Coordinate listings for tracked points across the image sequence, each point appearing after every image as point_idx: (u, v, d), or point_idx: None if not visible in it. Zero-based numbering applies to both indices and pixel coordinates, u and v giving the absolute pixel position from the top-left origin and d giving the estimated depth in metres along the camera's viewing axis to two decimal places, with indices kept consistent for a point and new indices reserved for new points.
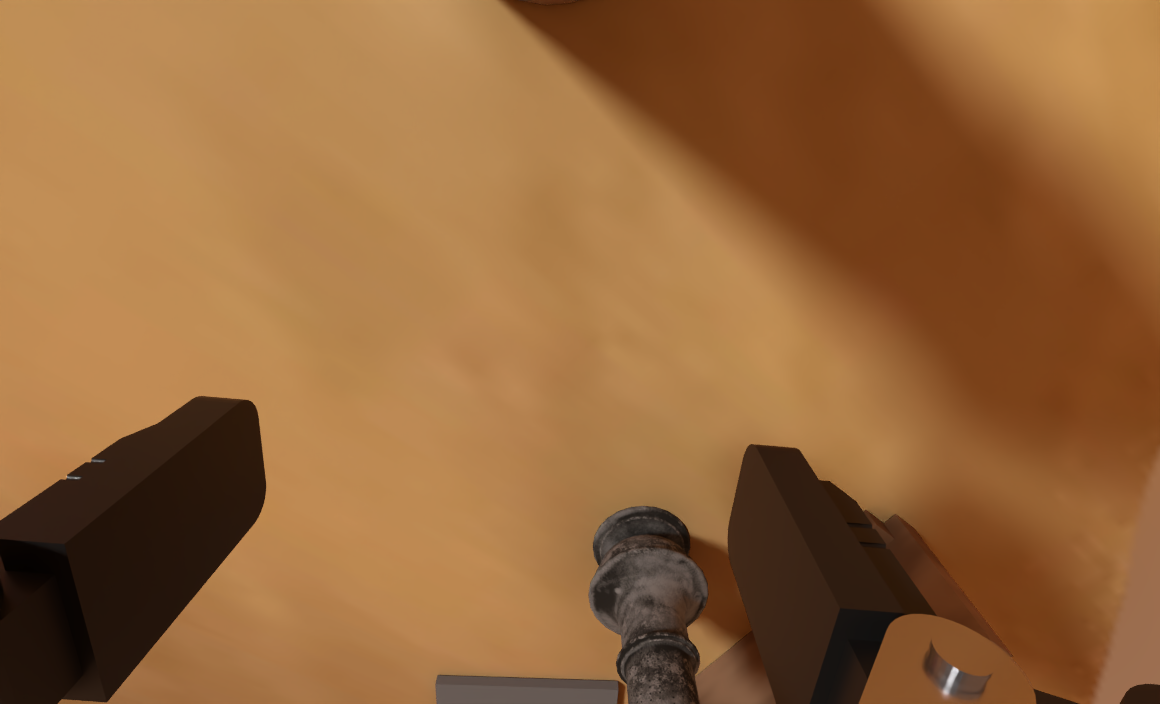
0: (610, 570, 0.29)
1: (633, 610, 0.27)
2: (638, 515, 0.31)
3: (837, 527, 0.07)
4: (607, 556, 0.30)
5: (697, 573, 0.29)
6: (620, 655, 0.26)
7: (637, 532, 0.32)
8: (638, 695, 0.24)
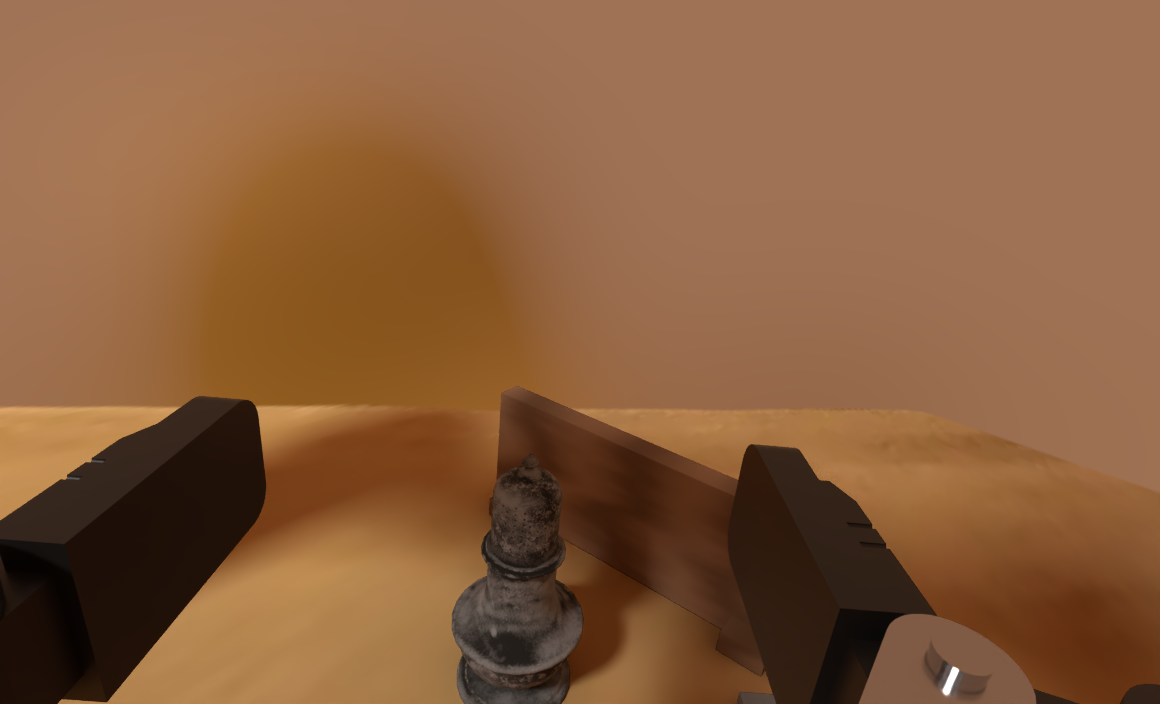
0: (474, 647, 0.25)
1: (493, 596, 0.25)
2: (464, 671, 0.28)
3: (837, 527, 0.07)
4: (475, 667, 0.25)
5: None
6: (508, 573, 0.24)
7: None
8: (503, 520, 0.24)
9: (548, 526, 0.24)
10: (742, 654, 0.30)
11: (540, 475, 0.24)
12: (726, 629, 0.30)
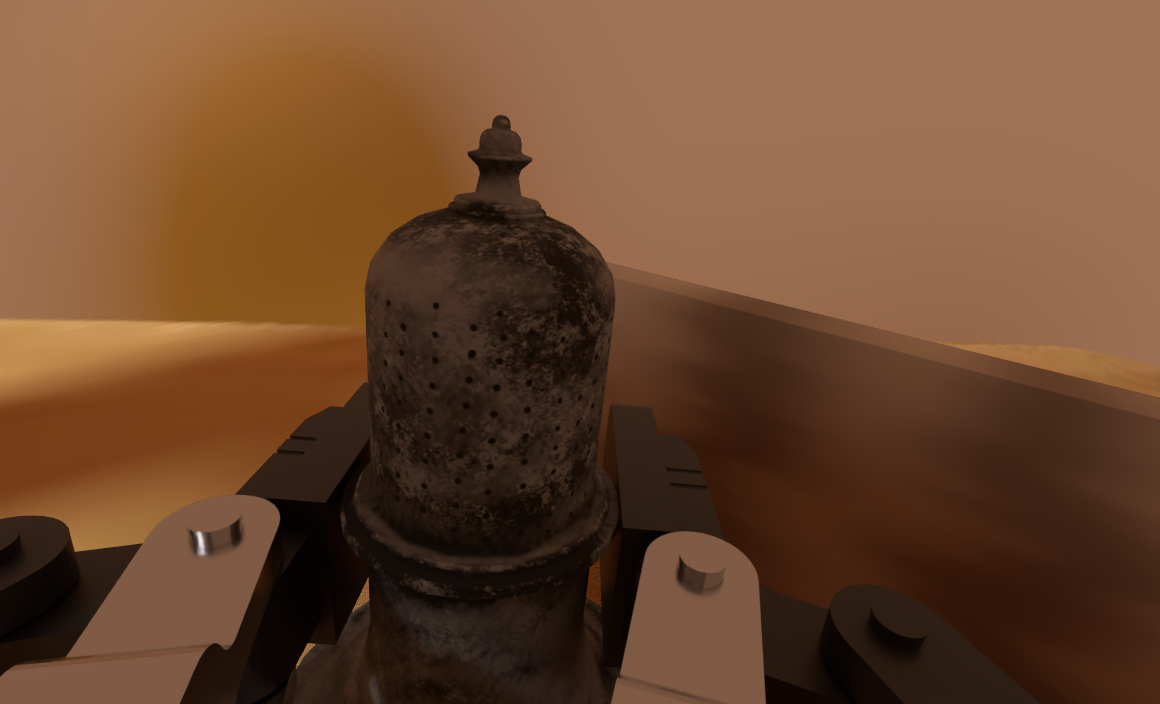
0: None
1: (382, 655, 0.08)
2: None
3: (654, 468, 0.08)
4: None
5: None
6: (415, 577, 0.06)
7: None
8: (393, 366, 0.06)
9: (567, 393, 0.06)
10: None
11: (539, 211, 0.06)
12: None
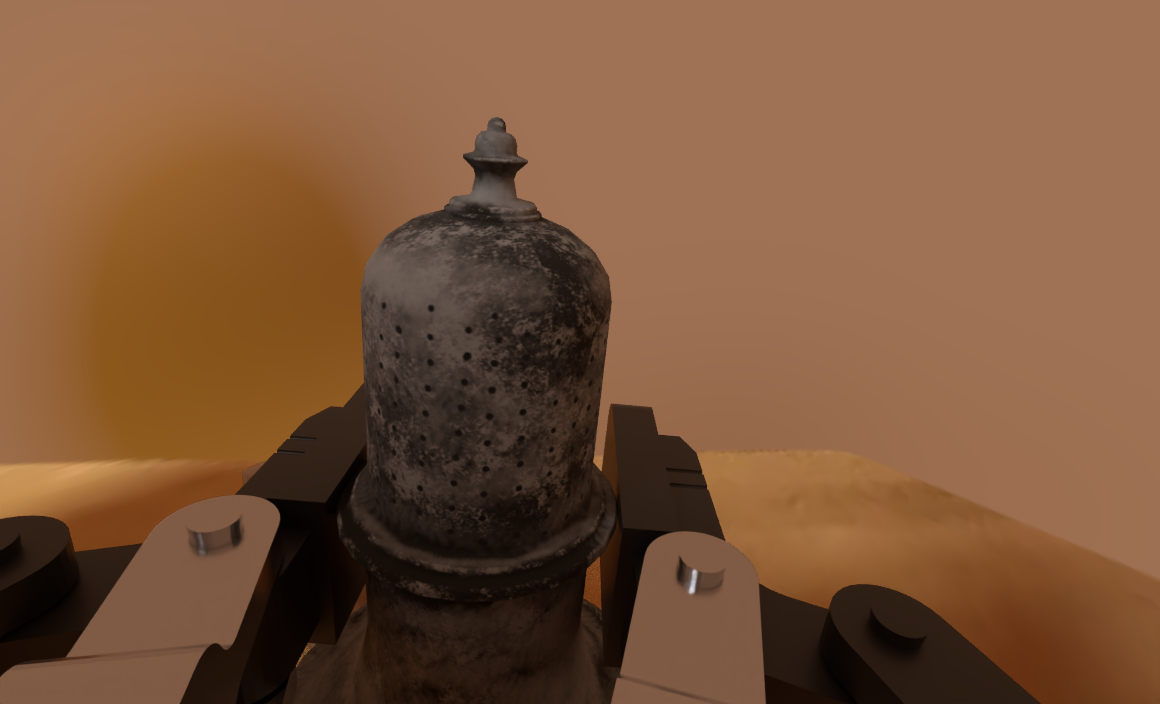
0: None
1: (379, 657, 0.08)
2: None
3: (654, 468, 0.08)
4: None
5: None
6: (411, 579, 0.06)
7: None
8: (388, 368, 0.06)
9: (563, 394, 0.06)
10: None
11: (534, 212, 0.06)
12: None
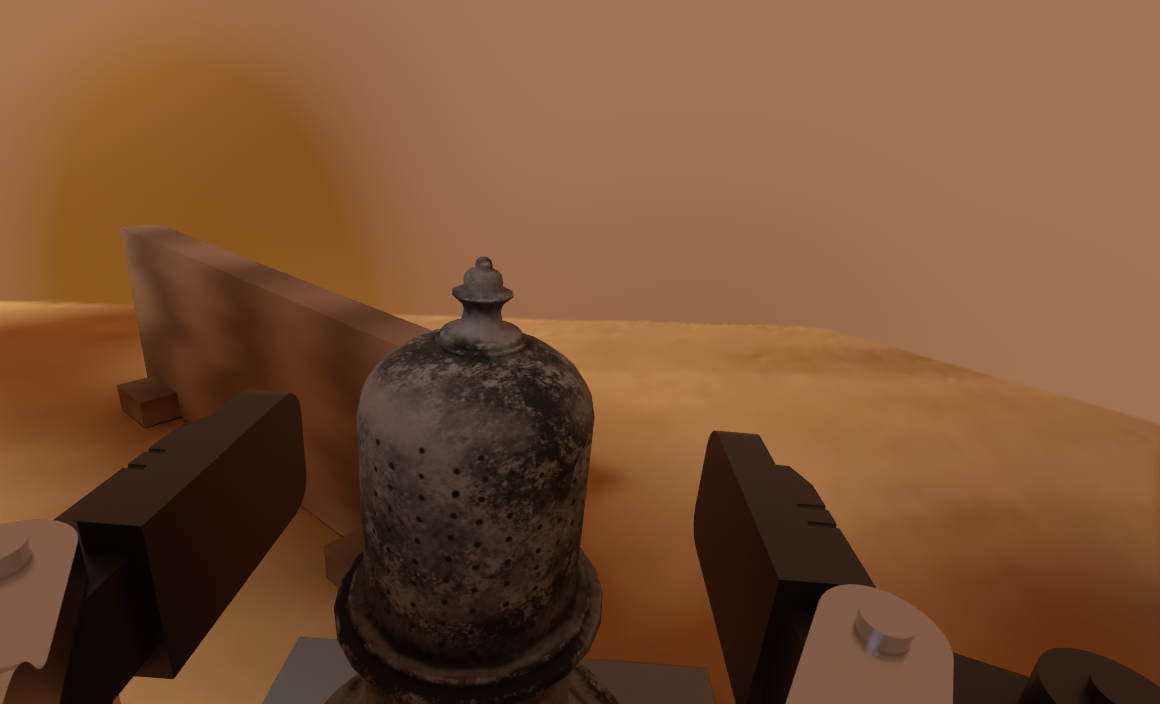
0: None
1: None
2: None
3: (787, 506, 0.08)
4: None
5: None
6: (405, 690, 0.07)
7: None
8: (383, 497, 0.06)
9: (547, 519, 0.07)
10: None
11: (520, 342, 0.07)
12: (338, 543, 0.19)
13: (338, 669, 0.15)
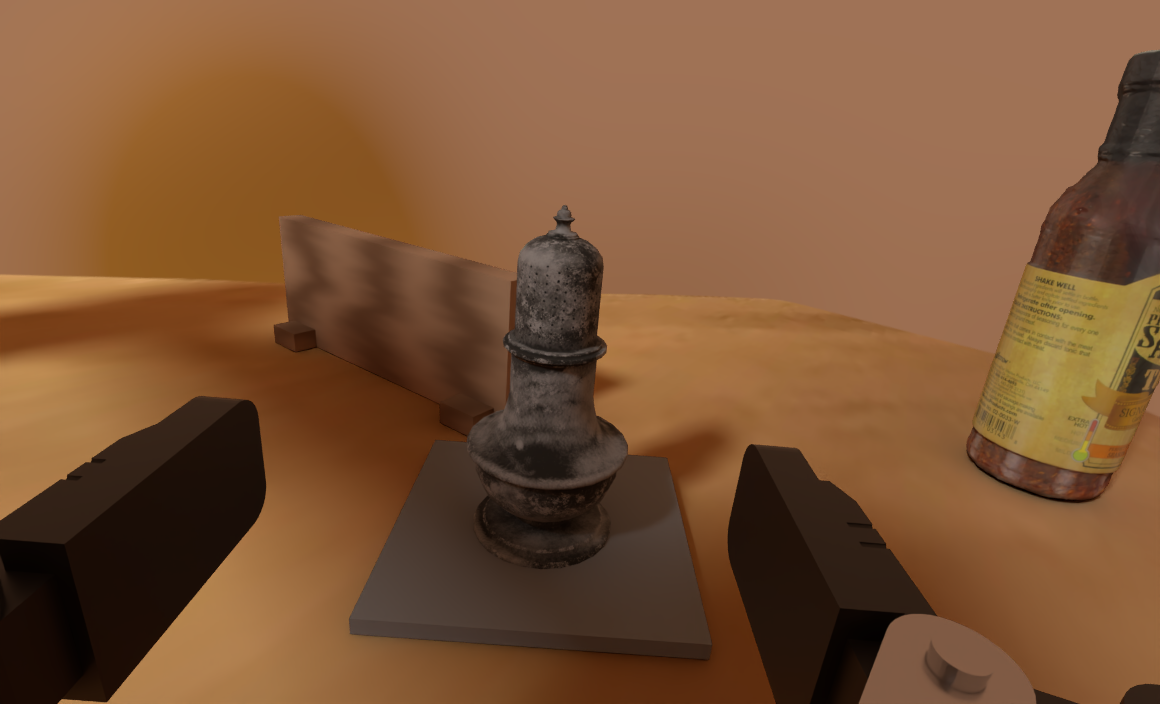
0: (495, 463, 0.20)
1: (518, 401, 0.20)
2: (482, 515, 0.23)
3: (837, 527, 0.07)
4: (496, 490, 0.20)
5: None
6: (538, 357, 0.19)
7: (507, 513, 0.23)
8: (531, 287, 0.19)
9: (587, 296, 0.19)
10: (457, 419, 0.30)
11: (577, 236, 0.19)
12: (447, 400, 0.31)
13: (460, 451, 0.27)
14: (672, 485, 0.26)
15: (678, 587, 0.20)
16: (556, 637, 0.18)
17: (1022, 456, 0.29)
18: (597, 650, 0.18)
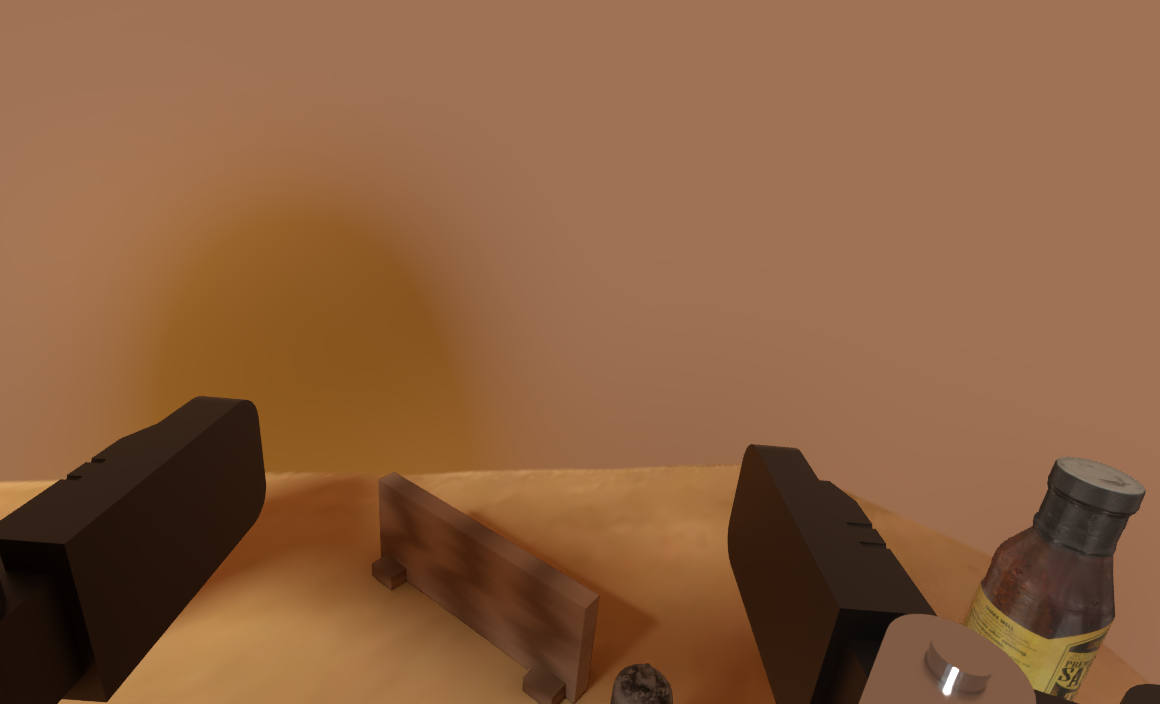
0: None
1: None
2: None
3: (837, 527, 0.07)
4: None
5: None
6: None
7: None
8: None
9: None
10: (538, 694, 0.39)
11: (655, 681, 0.28)
12: (529, 675, 0.40)
13: None
14: None
15: None
16: None
17: None
18: None
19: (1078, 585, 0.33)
